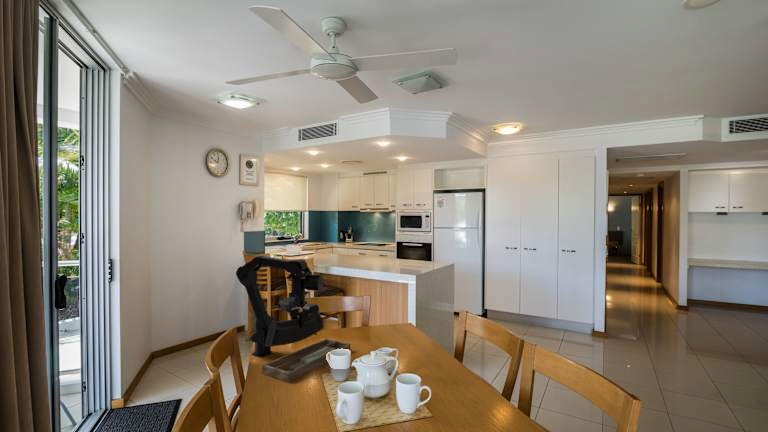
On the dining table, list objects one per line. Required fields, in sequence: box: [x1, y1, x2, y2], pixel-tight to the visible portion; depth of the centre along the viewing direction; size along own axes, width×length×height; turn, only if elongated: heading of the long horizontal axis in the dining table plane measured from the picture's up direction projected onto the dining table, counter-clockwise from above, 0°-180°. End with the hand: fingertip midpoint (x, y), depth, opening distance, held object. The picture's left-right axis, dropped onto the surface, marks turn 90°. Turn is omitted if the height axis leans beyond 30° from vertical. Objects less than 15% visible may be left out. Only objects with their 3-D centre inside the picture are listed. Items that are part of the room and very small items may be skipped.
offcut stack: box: [287, 347, 336, 372], centre depth 146 cm, size 6×26×4 cm, turn 150°
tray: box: [261, 337, 351, 383], centre depth 148 cm, size 14×36×3 cm, turn 148°
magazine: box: [265, 310, 324, 348], centre depth 150 cm, size 17×3×30 cm
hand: (297, 326), depth 151 cm, fingers closed on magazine, 3 cm apart
